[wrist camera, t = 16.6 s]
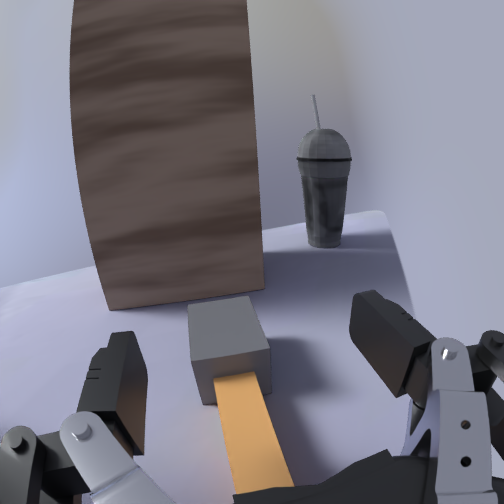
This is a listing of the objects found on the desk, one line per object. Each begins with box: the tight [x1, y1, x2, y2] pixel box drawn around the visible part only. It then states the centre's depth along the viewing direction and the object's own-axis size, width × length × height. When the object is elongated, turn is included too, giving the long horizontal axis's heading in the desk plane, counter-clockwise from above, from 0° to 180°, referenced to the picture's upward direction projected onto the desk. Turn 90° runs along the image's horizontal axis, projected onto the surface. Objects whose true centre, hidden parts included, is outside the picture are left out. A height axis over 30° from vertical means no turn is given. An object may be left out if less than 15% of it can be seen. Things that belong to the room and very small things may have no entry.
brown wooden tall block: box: [70, 0, 265, 310], centre depth 27 cm, size 10×16×33 cm, turn 102°
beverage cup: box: [297, 95, 352, 248], centre depth 37 cm, size 7×7×20 cm
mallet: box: [187, 296, 294, 494], centre depth 14 cm, size 16×4×4 cm, turn 12°
